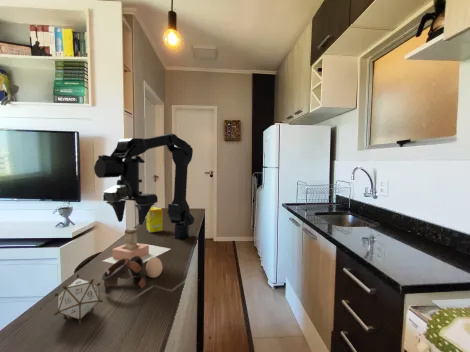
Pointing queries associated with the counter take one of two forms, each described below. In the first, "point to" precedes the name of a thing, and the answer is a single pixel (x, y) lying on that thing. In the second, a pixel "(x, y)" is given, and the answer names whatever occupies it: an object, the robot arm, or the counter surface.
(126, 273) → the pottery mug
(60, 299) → the game die
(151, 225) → the supplement box
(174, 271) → the counter surface
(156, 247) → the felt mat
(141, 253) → the pink square ring
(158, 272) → the egg
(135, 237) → the dowel
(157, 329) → the counter surface
